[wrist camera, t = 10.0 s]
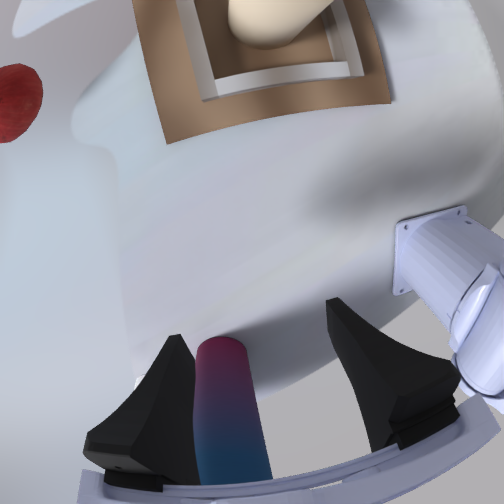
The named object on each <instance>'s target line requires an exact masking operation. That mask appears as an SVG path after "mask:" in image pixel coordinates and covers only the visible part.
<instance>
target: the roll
mask: <svg viewBox="0 0 504 504" xmlns="http://www.w3.org/2000/svg"><path fill="white" fill-rule="evenodd" d="M333 1H334V0H229V8H228V26H229V29H230V31H231V33H232V34H233V36H234V37H235V38H236V39H237V40H238V41H239V42H241V43H242V44H244V45H246V46H248V47H251V48H254V49H259V50H273V49H278V48H281V47H283V46H285V45H287V44H288V43H290V42H291V41H292V40H293V39H294V38H295V37H296V36H297V35H298V34H299V33H300V32H301V31H302V30H303V29H304V28H305V27H306V26H307V25H308V24H309V23H310V22H311V21H312V20H313V19H314V18H315V17H316V16H317V15H318V14H319V13H321V12H322V11H323V10H324V9H325V8H326V7H327V6H328V5H329V4H330V3H332V2H333Z"/></svg>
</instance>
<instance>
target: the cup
mask: <svg viewBox="0 0 504 504" xmlns="http://www.w3.org/2000/svg"><path fill="white" fill-rule="evenodd" d="M195 369H196V383H195V396H194V408H193V432H194V444H195V453H196V460H197V467H198V472H199V477H200V482H201V486H204V485H227V484H240V483H249V482H258V481H265V480H272V479H273V477H272V472H271V468H270V463H269V459H268V454H267V450H266V445H265V440H264V436H263V431H262V426H261V422H260V417H259V412H258V408H257V402H256V397H255V392H254V387H253V382H252V377H251V372H250V367H249V362H248V357H247V351H246V349H245V347H244V345H243V344H242V343H240V342H239V341H237V340H235V339H232V338H228V337H215V338H211V339H208V340H206V341H204V342H203V343H202V344H201V345H200V346H199V347H198V350H197V355H196V362H195ZM212 501H214V500H212Z"/></svg>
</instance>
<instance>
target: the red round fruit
mask: <svg viewBox="0 0 504 504" xmlns="http://www.w3.org/2000/svg"><path fill="white" fill-rule="evenodd" d="M42 97H43V88H42V81H41V80H40V78H39V76H38V74H37V73H36V71H35V70H34V69H33V68H30V67H28V66H26V65H23V64H20V63H19V64H13V65H8V66H4V67H2V68H0V143H7V142H11V141H13V140H15V139H17V138H18V137H19V136H20V135H22V134H23V133H24V132H25V131H26V130H27V129H28V128H29V126H30V125H31V123H32V122H33V121H34V119H35V118H36V117H37V114H38V112H39V110H40V107H41V104H42Z"/></svg>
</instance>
